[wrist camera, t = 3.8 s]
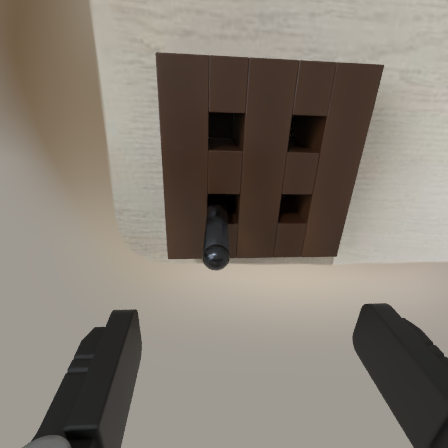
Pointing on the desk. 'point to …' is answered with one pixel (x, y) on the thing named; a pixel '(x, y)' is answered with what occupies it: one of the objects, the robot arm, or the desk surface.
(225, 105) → the pen holder
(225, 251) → the stylus
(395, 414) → the robot arm
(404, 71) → the desk surface
